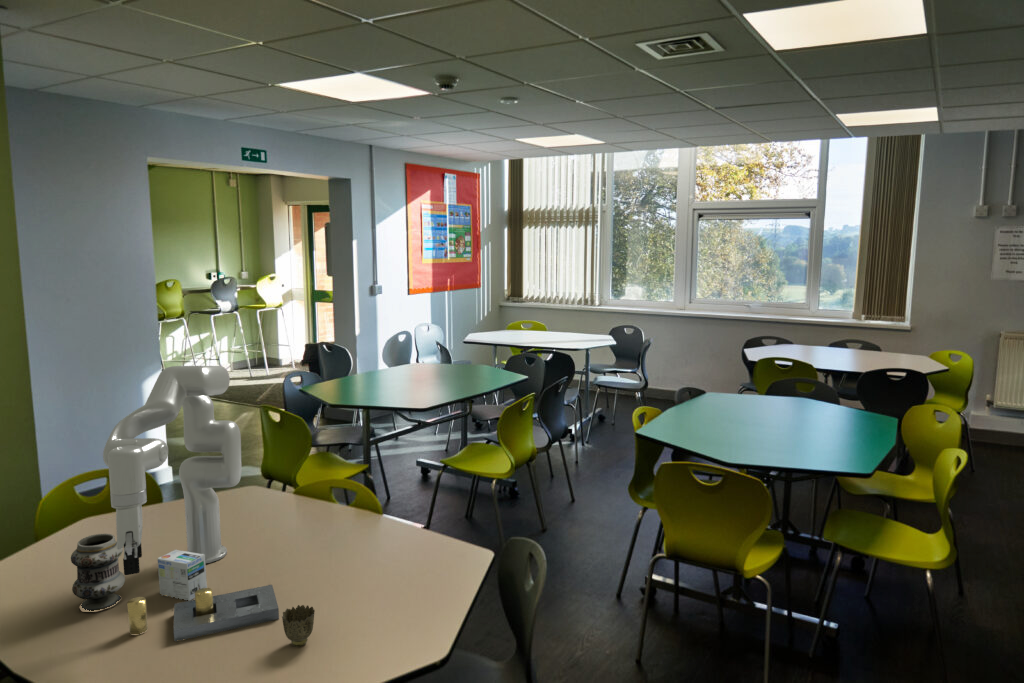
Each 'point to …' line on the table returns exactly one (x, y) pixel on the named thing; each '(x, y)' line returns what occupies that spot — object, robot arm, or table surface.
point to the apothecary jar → (97, 571)
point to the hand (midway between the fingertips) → (133, 565)
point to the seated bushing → (204, 602)
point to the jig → (226, 612)
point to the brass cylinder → (137, 615)
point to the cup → (298, 624)
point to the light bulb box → (181, 574)
